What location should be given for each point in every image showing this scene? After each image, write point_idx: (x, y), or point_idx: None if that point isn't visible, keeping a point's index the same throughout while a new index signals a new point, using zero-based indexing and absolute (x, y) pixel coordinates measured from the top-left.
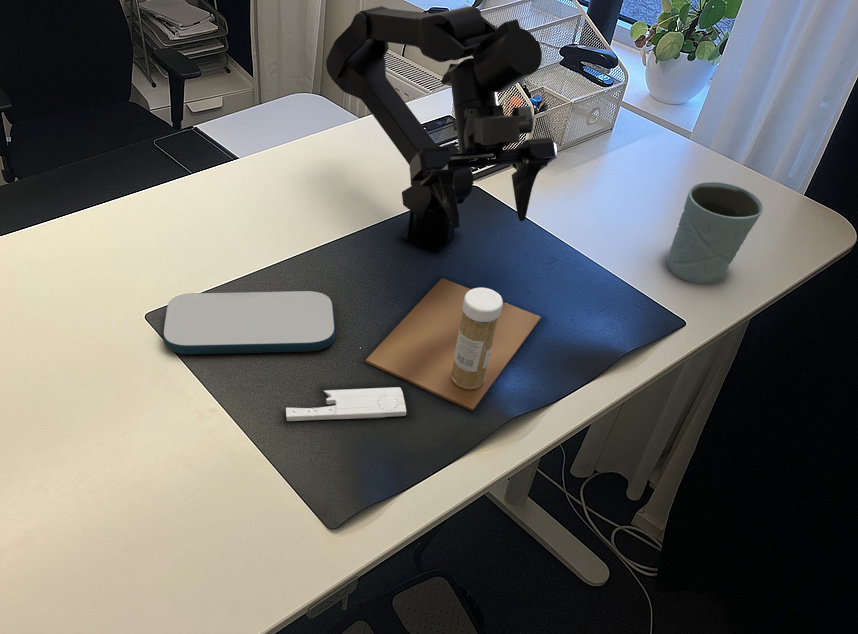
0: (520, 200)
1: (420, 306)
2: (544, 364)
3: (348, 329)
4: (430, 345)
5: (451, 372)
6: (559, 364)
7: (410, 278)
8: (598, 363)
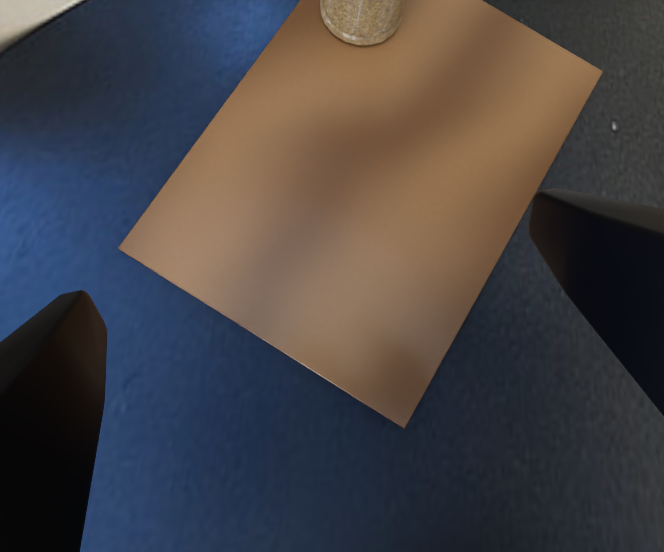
0: (42, 413)
1: (472, 279)
2: (154, 75)
3: (651, 192)
4: (446, 121)
5: (402, 9)
6: (113, 76)
7: (498, 431)
8: (5, 80)
